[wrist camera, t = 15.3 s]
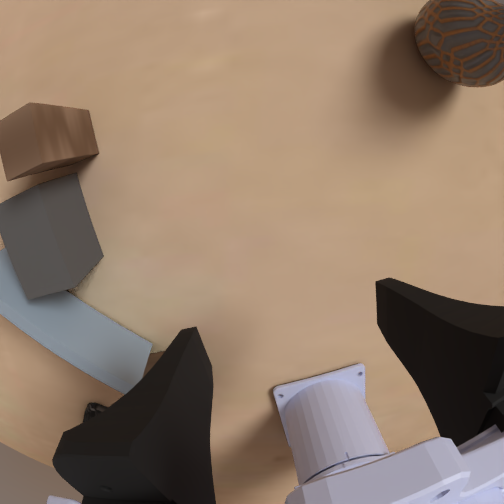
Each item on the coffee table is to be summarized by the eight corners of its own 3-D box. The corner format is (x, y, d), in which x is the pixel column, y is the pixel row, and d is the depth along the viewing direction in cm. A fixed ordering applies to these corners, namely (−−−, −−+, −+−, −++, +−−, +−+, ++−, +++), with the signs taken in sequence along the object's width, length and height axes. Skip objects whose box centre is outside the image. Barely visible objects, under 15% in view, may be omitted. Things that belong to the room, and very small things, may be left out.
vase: (397, 72, 17) (483, 49, 9) (400, -6, 15) (470, -50, 7) (468, 102, 18) (554, 103, 10) (469, 29, 16) (544, 10, 8)
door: (152, 343, 23) (139, 388, 18) (141, 361, 23) (127, 405, 18) (6, 246, 19) (-32, 271, 14) (1, 268, 20) (-34, 295, 15)
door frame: (177, 366, 24) (166, 434, 17) (150, 370, 24) (133, 436, 17) (89, 110, 17) (29, 102, 10) (59, 123, 17) (-6, 124, 10)
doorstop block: (104, 255, 20) (75, 287, 16) (60, 268, 20) (27, 299, 16) (76, 172, 18) (37, 184, 14) (33, 191, 18) (-8, 208, 14)
